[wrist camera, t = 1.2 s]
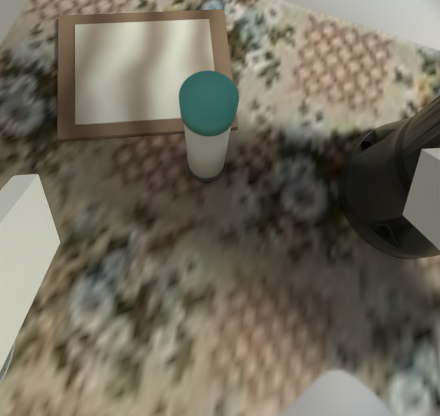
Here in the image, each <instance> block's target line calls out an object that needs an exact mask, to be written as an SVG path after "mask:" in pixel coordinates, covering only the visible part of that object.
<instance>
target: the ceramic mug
mask: <svg viewBox="0 0 440 416" xmlns="http://www.w3.org/2000/svg"><path fill="white" fill-rule="evenodd" d="M14 348H15V341H14V343H13V345H12V348H11V350H10V352H9V354H8V356H7V358H6V360H5V363H4V365H3V367H2V369H1V371H0V384H1V382H2V381H3V379H4V377H5V375H6V373H7V370H8V368H9V365H10V363H11V360H12V356H13V353H14Z"/></svg>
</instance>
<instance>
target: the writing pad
mask: <svg viewBox="0 0 440 416" xmlns="http://www.w3.org/2000/svg"><path fill="white" fill-rule="evenodd" d="M200 71H216V72H219V73H222V74H224V75H225V76H227V77H228V78H229V79H231V80H232V73H231V65H230V56H229V48H228V40H227V31H226V23H225V15H224V9H219V10H194V11H169V12H144V13H119V14H94V15H69V16H58V110H57V139H58V140H59V141H73V140H88V139H103V138H118V137H133V136H148V135H163V134H178V133H185V129H184V123H183V121H182V118H181V114H180V105H179V91H180V88H181V86H182V84H183V82H184V81H185V80H186V79H187V78H188V77H189V76H191V75H192V74H194V73H197V72H200ZM237 129H238V123H237V115H236V117H235V120H234V122H233V124H232V126H231V130H237Z"/></svg>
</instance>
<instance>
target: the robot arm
mask: <svg viewBox="0 0 440 416" xmlns="http://www.w3.org/2000/svg"><path fill="white" fill-rule="evenodd" d="M338 190H339V197H340V202H341V205H342V208H343V211H344V213H345V215H346V217H347V219H348V221H349V222H350V224H351V225H352V227H353V228H354V229H355V231H356V232H357V233H358V234H359V235H360V236H361V237H362V238H363V239H364V240H365V241H367V242H368V243H369V244H370V245H372V246H373V247H375V248H377V249H378V250H380V251H382V252H385V253H387V254H390V255H393V256H396V257H401V258H409V259H417V258H425V257H432V256H437V255H440V95H439V96H438V97H437V98H435V99H434V100H433V101H432V102H430V103H429V104H428V105H427V106H425V107H424V108H423V109H422V110H420V111H419V112H418V113H417V114H416V115H415V116H413V117H410V118H406V119H403V120H400V121H396V122H393V123H389V124H386V125H383V126H381V127H378V128H376V129H374V130H373V131H371V132H369V133H368V134H367V135H365V136H364V137H363V138H362V139H361V140H360V141H359V142H358V143H357V144H356V145H354V147H353V148H352V149H351V150H350V151H349V152H348V154H347V155H346V157H345V159H344V161H343V163H342V166H341V169H340V173H339V181H338ZM59 244H60V240H59V237H58V234H57V231H56V228H55V224H54V221H53V218H52V215H51V212H50V209H49V206H48V203H47V200H46V196H45V193H44V190H43V187H42V184H41V181H40V178H39V175H38V174H30V175H15V176H13V177H12V178H11V179H10V180H9V181H8V182H7V183H6V185H5V186H4V187H3V188H2V189H1V190H0V371H1V369H2V367H3V365H4V363H5V360H6V358H7V356H8V354H9V352H10V350H11V348H12V345H13V343H14V341H15V339H16V337H17V335H18V332H19V330H20V328H21V326H22V324H23V322H24V320H25V317H26V315H27V313H28V311H29V309H30V307H31V304H32V302H33V300H34V298H35V296H36V294H37V292H38V289H39V287H40V285H41V283H42V281H43V279H44V276H45V274H46V272H47V270H48V268H49V266H50V264H51V261H52V259H53V257H54V255H55V253H56V251H57V248H58V246H59Z"/></svg>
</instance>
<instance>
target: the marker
mask: <svg viewBox="0 0 440 416" xmlns="http://www.w3.org/2000/svg"><path fill="white" fill-rule="evenodd" d="M238 102H239V95H238V90H237V88H236V86H235V84H234V83H233V82H232V80H231V79H229V78H228V77H227V76H225V75H224V74H222V73H219V72H216V71H200V72H197V73H194V74H192V75H191V76H189V77H188V78H187V79H186V80H185V81H184V82H183V84H182V86H181V88H180V91H179V105H180V114H181V118H182V121H183V123H184V129H185V139H186V150H187V165H188V170H189V172H190V174H191V175H192V177H194V178H195V179H196V180H198V181H201V182H211V181H214V180H216V179H217V178H219V177H220V175H221V174H222V172H223V170H224V165H225V157H226V152H227V146H228V141H229V136H230V130H231V126H232V124H233V122H234V120H235V117H236V112H237V107H238Z"/></svg>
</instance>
